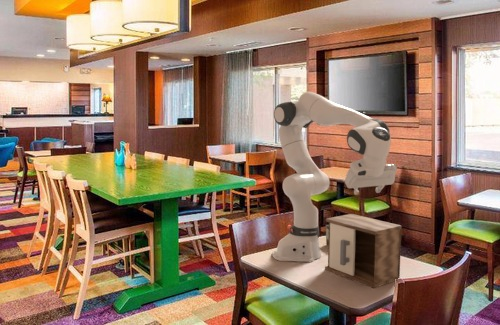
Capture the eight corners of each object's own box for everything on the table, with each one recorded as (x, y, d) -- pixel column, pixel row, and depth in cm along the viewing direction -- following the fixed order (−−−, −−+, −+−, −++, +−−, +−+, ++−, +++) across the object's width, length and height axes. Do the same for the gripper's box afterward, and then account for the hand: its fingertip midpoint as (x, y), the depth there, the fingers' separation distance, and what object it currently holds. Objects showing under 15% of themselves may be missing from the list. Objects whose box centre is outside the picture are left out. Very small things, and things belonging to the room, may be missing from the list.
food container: (347, 250, 230) (348, 229, 229) (336, 251, 229) (336, 230, 227) (336, 243, 242) (336, 223, 241) (325, 244, 240) (325, 224, 239)
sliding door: (345, 277, 189) (347, 230, 186) (322, 268, 199) (323, 224, 197) (354, 275, 191) (355, 228, 189) (330, 266, 202) (331, 222, 200)
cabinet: (373, 288, 182) (375, 231, 179) (324, 269, 203) (325, 218, 200) (399, 279, 191) (401, 225, 188) (350, 262, 212) (351, 213, 209)
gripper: (394, 159, 193) (387, 185, 201) (346, 163, 189) (341, 190, 198) (401, 168, 188) (393, 195, 196) (351, 173, 184) (346, 200, 193)
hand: (366, 192), depth 197 cm, fingers open, 8 cm apart
